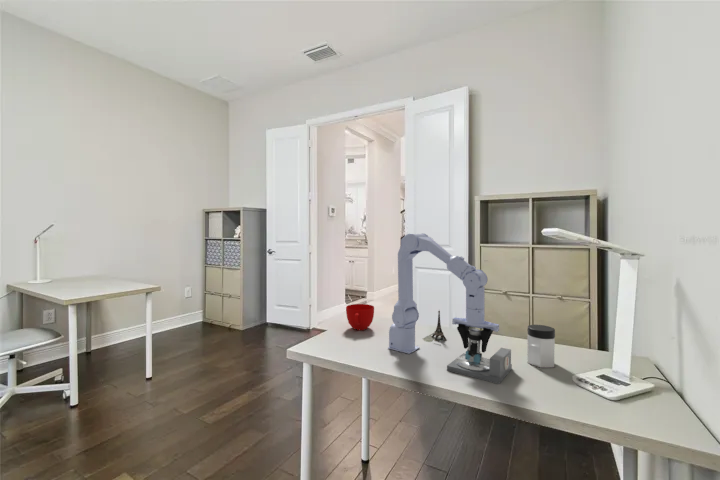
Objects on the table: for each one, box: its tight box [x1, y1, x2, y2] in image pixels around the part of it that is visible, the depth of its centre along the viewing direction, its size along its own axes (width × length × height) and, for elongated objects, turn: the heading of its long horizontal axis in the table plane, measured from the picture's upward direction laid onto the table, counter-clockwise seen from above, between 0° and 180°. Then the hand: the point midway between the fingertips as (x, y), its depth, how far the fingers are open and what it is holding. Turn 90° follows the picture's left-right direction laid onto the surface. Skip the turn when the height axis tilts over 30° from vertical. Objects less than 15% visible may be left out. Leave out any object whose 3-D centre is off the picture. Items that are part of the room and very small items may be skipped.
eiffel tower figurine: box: [422, 310, 448, 346], centre depth 140 cm, size 15×10×13 cm
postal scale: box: [446, 347, 513, 385], centre depth 108 cm, size 16×14×6 cm
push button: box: [464, 328, 486, 363], centre depth 109 cm, size 7×5×10 cm
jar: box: [526, 324, 556, 369], centre depth 113 cm, size 9×8×12 cm
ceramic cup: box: [345, 303, 375, 331], centre depth 153 cm, size 13×17×10 cm
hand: (474, 349), depth 109 cm, fingers closed on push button, 5 cm apart
